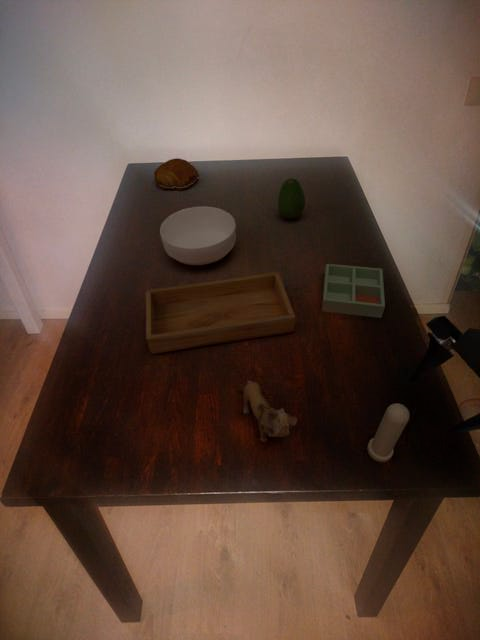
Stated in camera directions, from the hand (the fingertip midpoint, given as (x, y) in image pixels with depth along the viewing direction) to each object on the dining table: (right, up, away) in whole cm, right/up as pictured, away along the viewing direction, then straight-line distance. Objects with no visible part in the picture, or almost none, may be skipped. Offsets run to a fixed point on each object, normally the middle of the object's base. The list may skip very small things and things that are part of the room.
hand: (429, 405), depth 57 cm
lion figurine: (-24, -6, +13) cm, 27 cm away
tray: (-33, +13, +30) cm, 46 cm away
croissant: (-50, +61, +77) cm, 110 cm away
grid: (-2, +19, +34) cm, 39 cm away
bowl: (-39, +31, +48) cm, 69 cm away
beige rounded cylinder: (-5, -9, +8) cm, 13 cm away
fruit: (-13, +43, +59) cm, 74 cm away
